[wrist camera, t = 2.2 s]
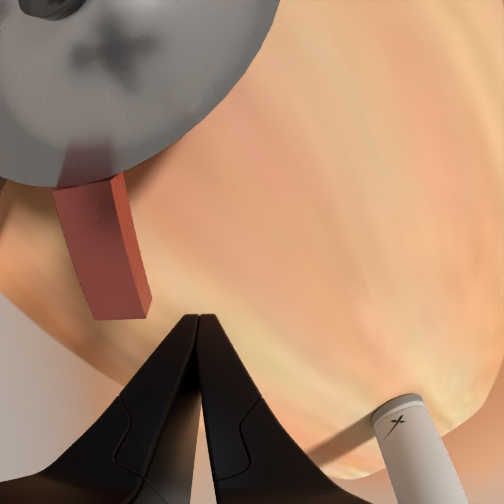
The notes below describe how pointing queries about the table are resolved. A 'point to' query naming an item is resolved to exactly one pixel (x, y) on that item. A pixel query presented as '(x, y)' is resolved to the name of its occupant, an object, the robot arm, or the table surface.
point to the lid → (112, 112)
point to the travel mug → (415, 454)
